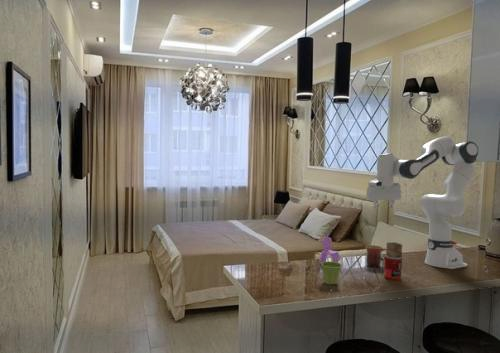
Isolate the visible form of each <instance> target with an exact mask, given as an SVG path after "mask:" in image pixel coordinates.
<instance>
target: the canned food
mask: <svg viewBox="0 0 500 353" xmlns="http://www.w3.org/2000/svg"><path fill="white" fill-rule="evenodd" d="M384 257H385V260H384V278H385V279H387V280H390V281H400V280H401V278H402V268H403V267H402V265H403V256H402V257H391V256H388V255H386V254H385V256H384Z"/></svg>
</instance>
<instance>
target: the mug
mask: <svg viewBox="0 0 500 353" xmlns="http://www.w3.org/2000/svg"><path fill="white" fill-rule="evenodd" d="M365 250H366V258H365V259H366V265H367V266H368V267H371V268H378V267H380V266H381V263H382V261H385V256H384V257H382V252H383V251H386V250H387V248H383V246H380V245H374V244H373V245H371V244H369V245H366V246H365Z"/></svg>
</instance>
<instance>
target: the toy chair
mask: <svg viewBox="0 0 500 353" xmlns="http://www.w3.org/2000/svg"><path fill="white" fill-rule="evenodd" d="M321 244H322V246H323V250H322V251H321V253H320V261H319V262H318V265H321V263H322V262H327V259H328V258H327V257H328V255H329V256H330V257H331V259H332V262H337V263H339V258H340V253H339V251H336V250H332V249H330V247H332V245H333V240H332V237H330V236H324V237H323V238H322V241H321Z"/></svg>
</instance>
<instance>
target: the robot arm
mask: <svg viewBox="0 0 500 353" xmlns="http://www.w3.org/2000/svg"><path fill="white" fill-rule="evenodd" d="M420 154H421V156H419V157H418V158H416V159H401V158H398V157H397V156H396V155H395V154H394V153H391V152H387V153H385V152H384V153H381V154H379V155H378V157H377V162H376V171H377V173H376V176H375V179H372V180H369V181H368V182H367V185H368V187H367V188H366V200H369V201H370V200H371V201H372V204H373V208H375V209H378V208H379V204H377V202H378V201H381V200H382V201H388V200H389V201H390V204H388V208H389V209H393V208H394V204H395V203H396V201H398V200H399V201H400V200H401V199H402V190H401V184H400V183H398V182H394V177H395V178H396V177H397V178H405V179H410V180H411V179H415V178H417V177H418V176H419V174H420V173H422V171H424V169H426V168H428V167H430V166H431V165H432V164H434V163H435V162H436V161H438V160H440V159H442V161H443V163H444V164H445V165H449V166H454V167H453V169H452V170H451V172H449V174H448V175H447V177H446V179H445V180H444V182H443V184H442V185H443V189H444V191H445V193H444V194H438V193H429V194H424V195H422V196H421V198H420V201H419V207H420V209H422V211H423V212H424V213H425V215H426V218H427V221H428V226H429V227H428V228H429V229H428V233H429V234H428V239H427V252H426V255H425V258H424V259H425V260H424V264H426V265H428V266H432V267H437V268H444V269H449V270H455V269H460V268H465V267H466V268H467V267H468V263H466V262H464V261H463V257H464V256H463V255H462V253H461V252H459V251H458V249H456V248H455V247H454V246H456V245H457V244H458V242H457V241H456V240H452V225H451V224H450V223H449V222H448V221H447V220H446V219H447V218H445V216H448V217H460V216H462V215H463V214H464V213H465V212H466V207H467V206H466V203H465V200H464V199H463V195H464V192H465V191H466V189H467V188H468V186H469V184H470V183H471V181H472V179H473V178H474V175H475V172H476V168H475V166H474V164H473V163H475V162H476V160H477V158H478V155H479V146H478V145H477V143H475V142H474V141H467V140H466V141H463V142H460V143H455V142H454V140H453V138H451V137H450V136H446V135H445V136H444V135H443V136H441V137H438V138H434V139H432V140H430V141H428V142H426V143H424V145H422V146H421V149H420Z"/></svg>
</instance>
